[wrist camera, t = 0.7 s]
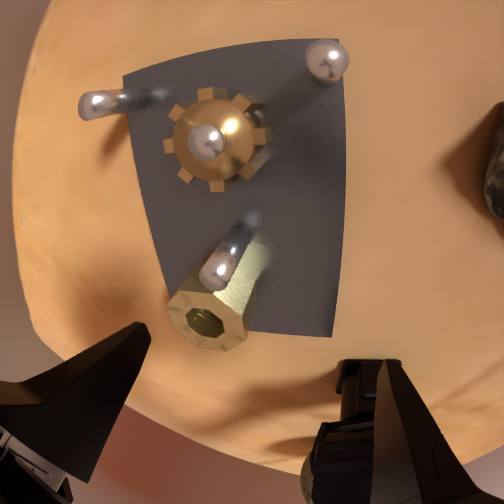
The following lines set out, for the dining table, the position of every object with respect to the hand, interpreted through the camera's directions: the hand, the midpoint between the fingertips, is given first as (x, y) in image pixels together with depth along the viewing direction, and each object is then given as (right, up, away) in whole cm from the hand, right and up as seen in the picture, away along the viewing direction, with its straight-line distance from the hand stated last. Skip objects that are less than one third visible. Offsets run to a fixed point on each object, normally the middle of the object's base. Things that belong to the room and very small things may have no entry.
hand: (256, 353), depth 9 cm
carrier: (-1, +7, +11) cm, 13 cm away
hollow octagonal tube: (-3, 0, +14) cm, 14 cm away
